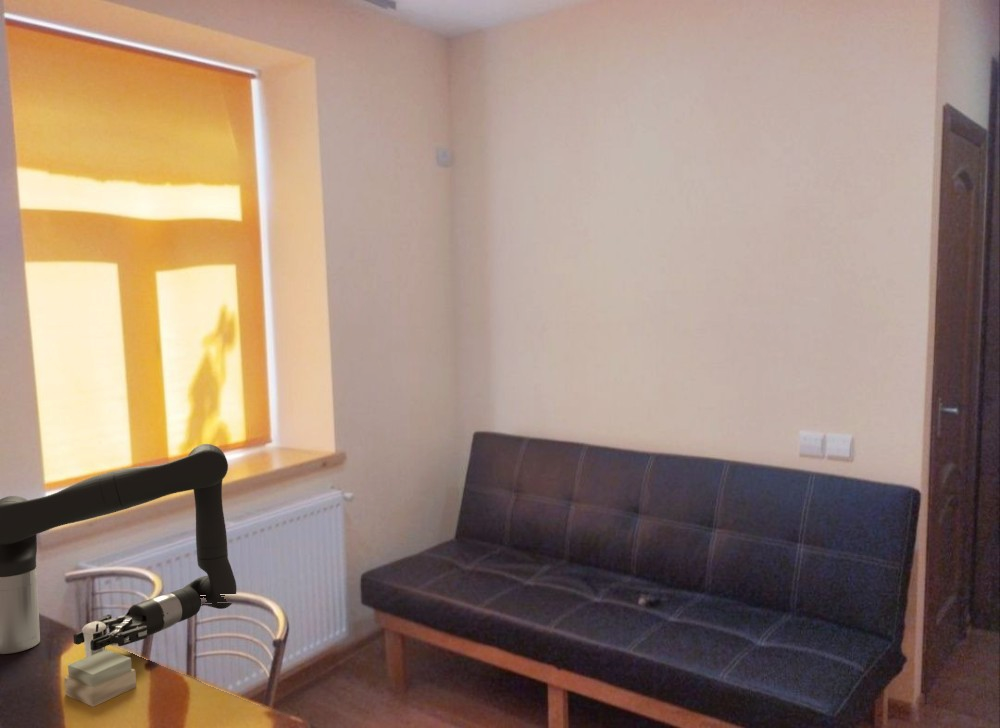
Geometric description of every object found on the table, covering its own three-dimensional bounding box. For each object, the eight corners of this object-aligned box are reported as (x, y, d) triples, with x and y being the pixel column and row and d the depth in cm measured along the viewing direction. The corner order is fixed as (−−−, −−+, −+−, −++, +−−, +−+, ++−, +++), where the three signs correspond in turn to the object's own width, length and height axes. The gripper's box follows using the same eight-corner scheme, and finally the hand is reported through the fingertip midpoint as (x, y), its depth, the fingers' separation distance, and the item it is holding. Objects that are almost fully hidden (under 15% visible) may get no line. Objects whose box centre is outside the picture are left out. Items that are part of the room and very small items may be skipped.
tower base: (65, 695, 154) (64, 665, 154) (108, 676, 162) (107, 647, 162) (93, 706, 150) (91, 676, 149) (136, 686, 157) (134, 657, 157)
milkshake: (87, 673, 163) (85, 626, 162) (81, 664, 167) (79, 618, 166) (111, 667, 166) (109, 621, 165) (104, 658, 170) (102, 613, 169)
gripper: (134, 592, 182) (62, 618, 167) (175, 604, 174) (103, 632, 160) (135, 624, 182) (63, 652, 168) (176, 637, 175) (104, 668, 161)
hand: (83, 642), depth 164 cm, fingers open, 5 cm apart
